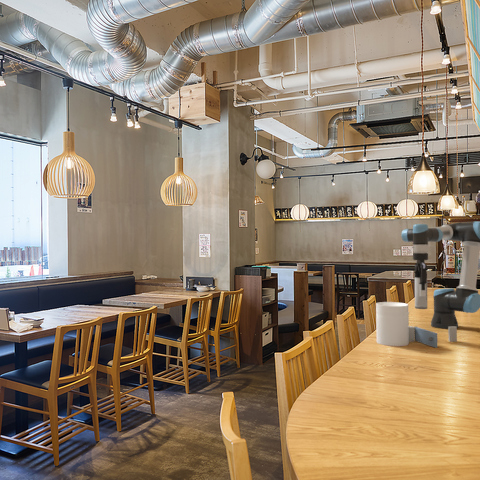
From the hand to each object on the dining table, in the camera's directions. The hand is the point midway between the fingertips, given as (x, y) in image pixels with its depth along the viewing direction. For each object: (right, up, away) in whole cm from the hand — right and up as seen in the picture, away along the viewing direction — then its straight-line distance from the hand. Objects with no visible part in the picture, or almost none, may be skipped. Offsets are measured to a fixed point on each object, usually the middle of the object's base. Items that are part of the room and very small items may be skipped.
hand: (420, 295), depth 239 cm
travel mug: (0, -7, 0) cm, 7 cm away
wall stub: (+14, -23, -7) cm, 28 cm away
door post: (-7, -23, -5) cm, 25 cm away
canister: (-18, -24, -8) cm, 31 cm away
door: (-4, -23, -13) cm, 27 cm away
